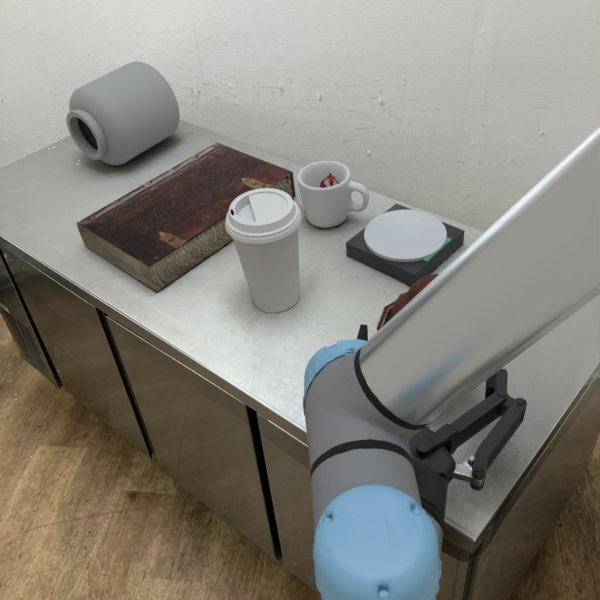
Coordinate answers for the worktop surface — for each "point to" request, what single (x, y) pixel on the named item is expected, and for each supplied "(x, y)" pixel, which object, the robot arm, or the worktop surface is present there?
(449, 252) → the scale
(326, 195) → the cup
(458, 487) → the worktop surface
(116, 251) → the hardback book
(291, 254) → the coffee cup
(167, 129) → the jar
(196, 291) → the worktop surface
